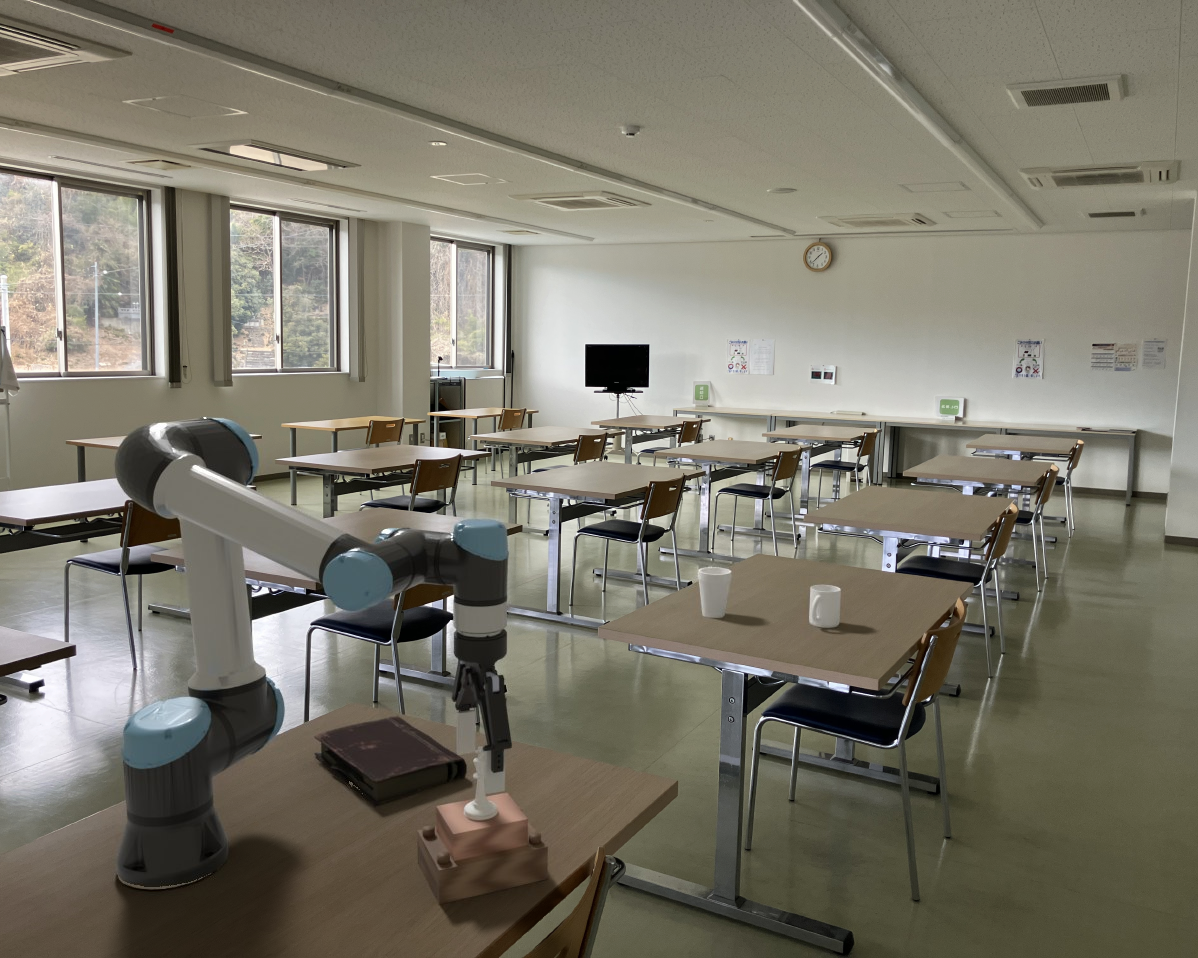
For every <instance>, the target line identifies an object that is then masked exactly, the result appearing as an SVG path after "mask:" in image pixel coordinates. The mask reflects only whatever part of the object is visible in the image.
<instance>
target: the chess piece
mask: <svg viewBox="0 0 1198 958" xmlns="http://www.w3.org/2000/svg"><path fill="white" fill-rule="evenodd" d="M474 754H477V757H475V758H473V760H472V761H473V765H474V767H475V770H476V772H474V773H473V775H472V777H473V779H475V780H476V787H475V788H476V789H475V796H474V797H475V798H473V799H474V800H473V801H472V802H470V803H468V804H467V805H466V806H465V807H464V815H465V816H466V817H467V818H469V819H472V820H486V819H490V818H492V817H494V816H495V815H496V814H497V813H498V809H497V805H496V804H495V803H494V802H492V801H489V800H488V799H486V796H487V794H486V793H485V751H483V746H482V745H479V746H478V747H477V749H476V748H475V753H474Z"/></svg>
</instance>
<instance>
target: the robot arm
mask: <svg viewBox="0 0 1198 958" xmlns="http://www.w3.org/2000/svg"><path fill="white" fill-rule="evenodd" d="M259 464H260V457H259V452H258V448H257V444H256V442H255V440H254V439H253V437H252V436H251V434H250V433H249V432H248V431H247V430H246V429H244V427H242V426H241V425H240V424H239V423H237V422H235V421H234V420H231V419H228V418H223V417H205V416H204V417H198V418H191V419H183V420H175V421H166V422H163V421H162V422H153V423H152V422H151V423H148V424H144V425H142V426H140V427H138V428H136V429H134V430H133V431H131V432H130V433H128V434H127V436H125V438H124V439H123V440H122V442H121V443H120V445H119V446H118V448H117V451H116V453H115V458H114V465H113V466H114V474H115V477H116V480H117V483H118V484H119V486H120V488H121V490H122V491H123V492H124V494H126V496H127V497H128V498H130V499H131V500H132V501H133V502H135V503H136V504H137V505H139V506H141V507H142V508H144V509H145V510H147V511H150V512H152V513H154V514H156V515H158V516H160V517H162V518H165V519H169V520H170V519H171V520H172V519H176V518H177V520H179V527H180V536H181V544H182V554H183V561H184V562H183V563H184V571H185V579H186V588H187V599H188V606H189V616H190V623H191V633H192V641H193V649H194V651H193V652H194V658H195V666H196V667H195V668H196V670H195V672H194V673H192V675H191V677H190V678H189V679H188V681H187V691H188V693H187V694H188V696H177V697H170V698H168V699H166V700H164V701H163V700H159V701H155V702H152V703H150V704H147V705H146V706H144V707H142V708H140V709H139V710H137V711H136V712H134V713H133V714H132V715H130V717H129V718H128V720H127V721H126V723H125V725H124V727H123V732H122V746H121V756H122V761H123V763H122V765H123V777H124V779H123V780H124V791H125V806H126V823H125V826H124V831H123V833H122V836H121V837H122V838H121V840H120V843H119V847H118V850H117V852H116V853H117V855H116V858H115V869H116V871H117V872H116V876H117V875H118V876H119V877H120V878H121V879H122V880H123V881H125V882H127V883H130V884H134V885H140V886H144V887H160V886H161V887H162V886H169V885H170V886H171V885H177V884H182V883H188V882H191V881H194V880H196V879H197V880H198V879H199V878H201V877H204V876H206V875H208V874H210V873H212V872H213V871H215V870H216V871H218V870H220V869H221V867H222V866H223V865H224V864H225V863H226V861H227V860H228V856H229V839H228V835H227V833H226V831H225V828H224V827H223V823H222V821H221V819H220V817H219V815H218V812H217V810H216V807H215V805H214V804H215V803H214V784H213V783H214V782H213V779H214V777H215V776H217V775H219V774H220V773H222V772H224V771H225V770H227V769H229V768H230V767H232V766H233V765H236V764H238V762H241V761H242V760H244V759H245V758H247V757H249V756H251V755H254V754H256V753H257V752H260V751H261V750H262V749H263V748H264V747H265V746H266V745H267V744H269V743H270V742H271V741H272V740H273V739H275V737H276V736H277V735H278V734H279V732H280V731H281V728H282V727H283V726H282V725H283V723H284V720H285V712H286V707H285V700H284V697H283V694H282V692H281V690H280V688H277V687H276V683H275V682H274V680H272V679H271V678H270V677H268V676H267V673H266V672H267V670H266V668H265V667H264V666H262V665H261V664H259V663H258V662H257V661H256V660H255V655H254V653H255V652H254V646H253V645H254V644H253V636H252V626H251V625H252V624H251V616H250V608H249V597H248V589H247V578H246V568H245V560H244V552H243V548H245V549H247V550H248V551H252V552H253V553H256V554H257V555H260V556H261V557H263V558H266V559H269V560H271V562H274V563H276V564H279V565H281V566H283V567H285V568H287V569H289V570H291V571H293V572H294V573H295V572H296V573H297V574H300V575H301V576H304V577H306V578H308V579H310V580H313V581H314V582H316V583H319V584H321V585H322V587H323V589H324V593H325V595H326V596H327V597H328V599H330V601H331V602H332V604H333V605H334V606H335V607H337V608H338V609H341V610H343V611H346V612H356V611H361V610H364V609H369V608H372V607H375V606H377V605H379V604H381V603H383V602H384V601H385V600H388V599H390V598H391V597H394V596H395V595H397V594H401V593H402V592H404V591H407V590H408V589H411V588H413V587H416V586H417V585H421V584H426V585H427V584H428V585H437V586H438V585H439V586H447V587H449V586H451V587H453V600H452V601H453V609H452V610H453V614H452V615H453V616H452V617H453V619H452V621H453V622H452V623H453V624H452V626H453V628H454V632H453V655H454V657H455V658H456V659H457V665H456V672H455V677H454V683H453V688H452V695H451V700H452V703H455V705H454V708H455V709H456V754H457V755H459V756H461V755H462V756H463V755H467V754H469V755H470V754H473V753H474V754H476V753H475V750H476V710H475V709H476V708H478V705H479V710H480V715H481V720H482V724H483V730H484V734H485V739H486V745H484V746H482V751H484V752H485V755H484V757H485V770H484V772H485V779H484V786H485V793H486V795H490V794H495V793H496V794H497V793H500V792H506V750H508V749H509V750H510V749H512V747H513V742H512V737H511V736H512V735H511V730H510V723H509V716H508V709H507V707H508V706H507V700H506V694H505V691H506V690H505V677H504V675H503V674H498V671H497V669H496V666H495V665H496V663H497V662H498V661H499V660H503V659H504V658H505V657H506V656H507V654H508V653H507V652H508V632H507V630H506V629H505V628H506V627H507V625H508V611H510V609H511V605H510V603H508V573H509V572H508V571H509V569H508V568H509V555H510V551H509V545H508V542H509V541H508V531H507V526H506V525H505V524H504V523H502V522H501V521H500V520H496V519H491V518H480V519H479V518H470V519H469V518H468V519H463V520H458V521H457V522H456V523H455V524H454V527H453V532H443V531H435V530H434V531H433V530H425V529H416V528H415V529H414V528H411V527H405V526H404V527H401V528H397V527H388V528H385V529H383V530H381V531H380V533H379V535H378V536H377V537H375V539H374V541H373V543H370V542H367V541H366V540H363V539H361V538H359V537H356V536H355V535H354V536H353V535H351V534H350V533H348V532H345V531H343V530H342V529H339V528H337V527H335V526H332V525H330V524H328V523H326V522H324V521H322V520H320V519H317V518H315V517H313V516H311V515H308V514H307V513H305V512H302V511H300V510H298V509H296V508H294V507H292V506H289V505H287V504H285V503H283V502H280V501H278V500H276V499H274V498H272V497H269V496H268V495H265V494H263V493H261V492H260V491H257V490H255V489H253V488H250V487H249V486H248V485H250V483H252V481H253V480H254V478H255V475H256V474H257V473H258V470H259ZM217 869H218V870H217ZM216 871H215V872H216ZM212 874H213V873H212ZM210 875H211V874H210ZM198 881H199V880H198Z"/></svg>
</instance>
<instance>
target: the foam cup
mask: <svg viewBox="0 0 1198 958" xmlns="http://www.w3.org/2000/svg"><path fill="white" fill-rule="evenodd" d="M697 579H698V584H699V585H698V586H699V593H700V605H701V612H702V613H701V614H702V616H703V617H706V618H710V619H721V618H724V617H725V614H726V610H727V609H726V608H727V602H728V597H729V591H730V585H731V581H732V570H730V569H729V568H724V567H718V566H717V567H714V566H710V567H701V568H699V569H698V570H697Z"/></svg>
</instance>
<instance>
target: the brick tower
mask: <svg viewBox="0 0 1198 958" xmlns="http://www.w3.org/2000/svg"><path fill="white" fill-rule="evenodd" d="M474 799H475V798H471V799H466V800H462V801H456V802H449V803H445V804H440V805H436V807H435V811H436V812H435V813H436V814H435V815H436V817H435V818H436V819H435V821H436V823H435V824H436V825H435V826H434V825H425V826H423V827H422V829H417V830H416V832H417V833H416V834H417V835H416V836H417V837H416V838H417V863H418V865H419V867H420V869H421V871H422V873H423V875H424V877H425V879H426V881H427V882H428V885H429V887H430V889H431V890H432V892H433V893H432V894H433V895H434V897H435V899H436V900H437V903H438V904H439V905H442V904H447V903H452V902H455V901H459V900H464V899H468V898H472V897H477V896H481V895H485V894H489V893H493V892H498V891H503V890H506V889H511V888H517V887H519V886H524V885H527V884H533V883H537V882H540V881H545V880H548V878H549V877H548V875H549V873H548V872H549V869H548V868H549V863H548V861H549V860H548V859H549V858H548V855H549V854H548V851H549V850H548V849H549V846H548V844H546V842H545V841H544V839H542V834H541V833H540V832H539V831H536V829H535V828H534V827H533V826H532V824H531V823H530V822H529V818H528V817H527V816H526V815H525V813H524V812H523V810H522V809H521V808H520V807H519V805H518V804H517V803H516V801H514V799H513V798H512V797H511V795H510V794H509V793H508V792H504V793H498V794H497V793H496V794H492V795H488V796H487V795H486V799H488V800H489V801H492V802H494V803H495V804H496V805H497V809H498V813H497V814H496V815H495V816H494V817H492V818H490V819H486V820H472V819H469V818H467V817H466V816H465V815H464V807H465V806H466V805H467V804H468V803H470V802H472V801H473V800H474Z"/></svg>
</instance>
